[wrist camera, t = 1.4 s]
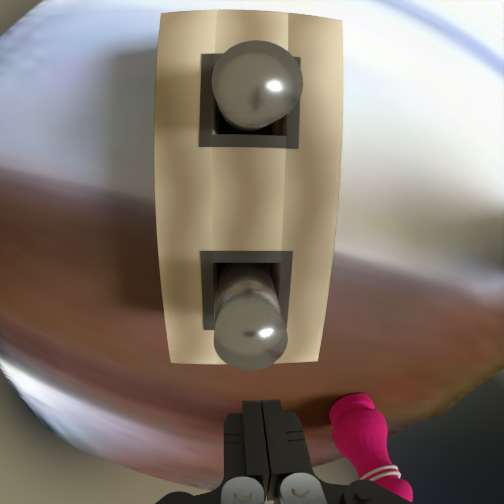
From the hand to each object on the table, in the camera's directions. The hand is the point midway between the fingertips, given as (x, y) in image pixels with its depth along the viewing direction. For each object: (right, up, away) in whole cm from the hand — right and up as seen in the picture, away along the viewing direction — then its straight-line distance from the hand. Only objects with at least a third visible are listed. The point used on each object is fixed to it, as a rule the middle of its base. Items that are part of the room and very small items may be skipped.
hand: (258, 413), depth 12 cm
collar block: (-1, +12, +16) cm, 20 cm away
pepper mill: (+13, -15, +27) cm, 33 cm away
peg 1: (-1, +17, +8) cm, 19 cm away
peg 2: (-1, +4, +12) cm, 13 cm away
